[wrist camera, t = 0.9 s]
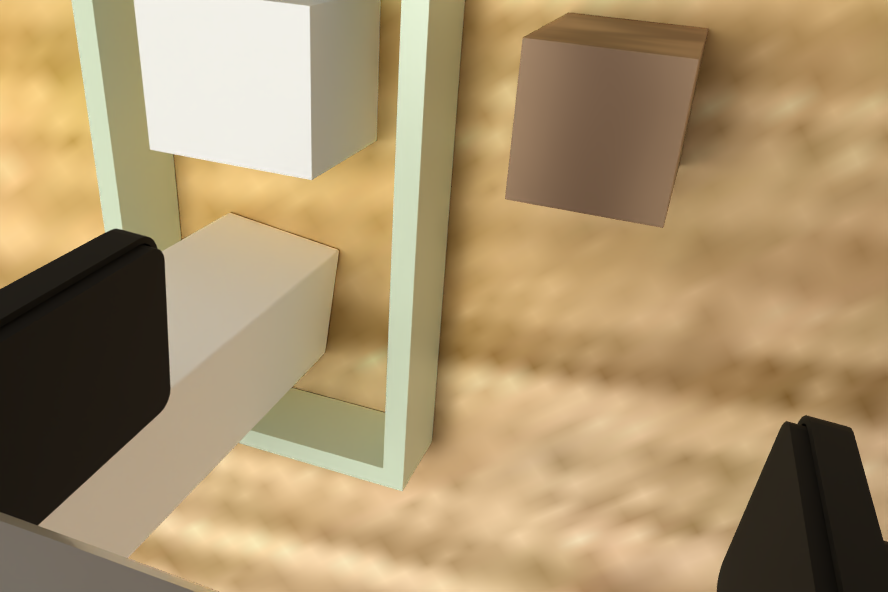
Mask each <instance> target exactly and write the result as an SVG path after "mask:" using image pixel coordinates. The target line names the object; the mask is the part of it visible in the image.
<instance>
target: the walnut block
mask: <svg viewBox="0 0 888 592" xmlns="http://www.w3.org/2000/svg"><path fill="white" fill-rule="evenodd" d="M707 33H708V28H699V27H690V26H681V25H673V24H664V23H655V22H646V21H637V20H629V19H620V18H611V17H602V16H593V15H585V14H576V13H567V14H565V15H563V16H561V17H560V18H558V19H556V20H554V21H552V22H550V23H549V24H547V25H545V26H543V27H541V28H539V29H538V30H536V31H534V32H532V33H530V34H529V35H527V36H525V37H523V41H522V50H521V59H520V68H519V77H518V86H517V95H516V105H515V114H514V123H513V132H512V141H511V150H510V159H509V168H508V177H507V186H506V196H505V199H507V200H513V201H518V202H524V203H529V204H535V205H540V206H546V207H551V208H557V209H562V210H568V211H573V212H579V213H584V214H590V215H595V216H601V217H606V218H612V219H618V220H623V221H629V222H634V223H640V224H645V225H651V226H656V227H662V228H663V227H664V223H665V219H666V215H667V211H668V207H669V203H670V199H671V195H672V191H673V188H674V184H675V180H676V176H677V172H678V168H679V164H680V159H681V154H682V150H683V145H684V140H685V136H686V131H687V126H688V122H689V117H690V112H691V108H692V103H693V98H694V94H695V89H696V84H697V80H698V75H699V70H700V66H701V61H702V56H703V52H704V47H705V42H706V38H707Z"/></svg>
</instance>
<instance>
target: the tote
mask: <svg viewBox="0 0 888 592" xmlns="http://www.w3.org/2000/svg"><path fill="white" fill-rule="evenodd" d="M72 7H73V14H74V21H75V28H76V34H77V41H78V48H79V55H80V62H81V69H82V76H83V83H84V90H85V97H86V104H87V110H88V117H89V124H90V131H91V138H92V145H93V152H94V159H95V166H96V173H97V180H98V186H99V193H100V200H101V207H102V214H103V221H104V228H105V233H106V232H108V231H110V230H112V229H122V230H125V231H129V232H133V233H136V234H140V235H144V236H147V237H150V238H152V239H153V240H154V241H155V243H156V245H157V249H159V250H161V251H163V250H165V249H167V248H169V247H170V246H172V245H174V244H176V243H177V242H179V241H181V230H180V219H179V209H178V199H177V188H176V178H175V167H174V157H173V154H171V153H165V152H160V151H155V150H150V144H149V135H148V126H147V117H146V108H145V99H144V90H143V80H142V71H141V62H140V53H139V44H138V35H137V26H136V16H135V7H134V0H72ZM464 7H465V0H402V2H401V27H400V53H399V78H398V104H397V129H396V155H395V180H394V206H393V231H392V257H391V282H390V308H389V333H388V358H387V384H386V409H385V412H381V411H377V410H373V409H370V408H366V407H362V406H358V405H355V404H351V403H347V402H343V401H340V400H336V399H332V398H329V397H325V396H321V395H317V394H314V393H310V392H306V391H302V390H299V389H295V388H291V389H290V390H289V391H288V392H287V393H286V394H285V395H284V396H283V397H282V398H281V399H280V400H279V401H278V402H277V403H276V404H275V405H274V406H273V407H272V408H271V409H270V410H269V412H268V413H267V414H266V415H265V416H264V417H263V418H262V419H261V420H260V421H259V422H258V423H257V424H256V425H255V426H254V427H253V428H252V429H251V430H250V431H249V432H248V433H247V434H246V435H245V437H244V438H243V439H242V440H241V441H240V442H239V443H241V444H244V445H247V446H251V447H254V448H257V449H261V450H264V451H268V452H271V453H274V454H278V455H281V456H285V457H288V458H291V459H295V460H298V461H302V462H305V463H308V464H312V465H315V466H319V467H322V468H325V469H329V470H332V471H335V472H339V473H342V474H346V475H349V476H352V477H356V478H359V479H363V480H366V481H369V482H373V483H376V484H380V485H383V486H386V487H390V488H393V489H396V490H400V491H403V490H404V488H405V486H406V484H407V483H408V481H409V479H410V478H411V476H412V474H413V473H414V471H415V469H416V468H417V466H418V464H419V463H420V461H421V459H422V458H423V456H424V454H425V453H426V451H427V449H428V448H429V446H430V444H431V442H432V436H433V422H434V409H435V395H436V382H437V369H438V355H439V342H440V328H441V315H442V302H443V288H444V275H445V261H446V248H447V235H448V221H449V208H450V194H451V181H452V168H453V154H454V141H455V127H456V114H457V100H458V87H459V74H460V60H461V47H462V33H463V20H464Z"/></svg>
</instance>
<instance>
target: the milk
mask: <svg viewBox="0 0 888 592" xmlns="http://www.w3.org/2000/svg"><path fill="white" fill-rule="evenodd" d="M162 253H163V255H164V259H165V278H166V300H167V322H168V343H169V365H170V387H171V389H170V396H169V400H168V402H167V404H166V406H165V408H164V409H163V410H162V412H161V413H160V414H159V415H158V416H156V417H155V418H154V419H153V420H152V421H151V422H150V423H149V424H148V425H147V426H146V427H144V428H143V429H142V430H141V431H140V432H139V433H138V434H137V435H136V436H135V437H134V438H133V439H131V440H130V441H129V442H128V443H127V444H126V445H125V446H124V447H123V448H122V449H121V450H119V451H118V452H117V453H116V454H115V455H114V456H113V457H112V458H111V459H110V460H109V461H108V462H106V463H105V464H104V465H103V466H102V467H101V468H100V469H99V470H98V471H97V472H96V473H94V474H93V475H92V476H91V477H90V478H89V479H88V480H87V481H86V482H85V483H84V484H83V485H81V486H80V487H79V488H78V489H77V490H76V491H75V492H74V493H73V494H72V495H71V496H69V497H68V498H67V499H66V500H65V501H64V502H63V503H62V504H61V505H60V506H59V507H58V508H56V509H55V510H54V511H53V512H52V513H51V514H50V515H49V516H48V517H47V518H46V519H44V520H43V521H42V522H41V523H40V524H39V525H38V526H40V527H43V528H46V529H48V530H51V531H54V532H57V533H59V534H62V535H65V536H68V537H71V538H73V539H76V540H79V541H82V542H84V543H87V544H90V545H93V546H96V547H98V548H101V549H104V550H107V551H109V552H112V553H115V554H118V555H120V556H123V557H126V558H128V557H129V556H130V555H131V554H132V553H133V552H134V551H135V550H136V549H137V548H138V547H139V546H140V545H141V544H142V543H143V542H144V541H145V540H146V539H147V537H148V536H149V535H150V534H151V533H152V532H153V531H154V530H155V529H156V528H157V527H158V526H159V525H160V524H161V523H162V522H163V521H164V520H165V519H166V518H167V517H168V516H169V515H170V514H171V513H172V511H173V510H174V509H175V508H176V507H177V506H178V505H179V504H180V503H181V502H182V501H183V500H184V499H185V498H186V497H187V496H188V495H189V494H190V493H191V492H192V491H193V490H194V489H195V488H196V486H197V485H198V484H199V483H200V482H201V481H202V480H203V479H204V478H205V477H206V476H207V475H208V474H209V473H210V472H211V471H212V470H213V469H214V468H215V467H216V466H217V465H218V464H219V463H220V461H221V460H222V459H223V458H224V457H225V456H226V455H227V454H228V453H229V452H230V451H231V450H232V449H233V448H234V447H235V446H236V445H237V444H238V443H239V442H240V441H241V440H242V439H243V438H244V437H245V435H246V434H247V433H248V432H249V431H250V430H251V429H252V428H253V427H254V426H255V425H256V424H257V423H258V422H259V421H260V420H261V419H262V418H263V417H264V416H265V415H266V414H267V413H268V412H269V410H270V409H271V408H272V407H273V406H274V405H275V404H276V403H277V402H278V401H279V400H280V399H281V398H282V397H283V396H284V395H285V394H286V393H287V392H288V391H289V390H290V389H291V388H292V387H293V386H294V384H295V383H296V382H297V381H298V380H299V379H300V378H301V377H302V376H303V375H304V374H305V373H306V372H307V371H308V370H309V369H310V368H311V367H312V366H313V365H314V364H315V363H316V362H317V361H318V359H319V358H320V357H321V356H322V355H323V354H324V353H325V350H326V343H327V335H328V328H329V321H330V314H331V306H332V299H333V292H334V284H335V277H336V270H337V263H338V255H339V250H338V249H335V248H332V247H329V246H326V245H323V244H321V243H318V242H315V241H312V240H309V239H306V238H303V237H300V236H297V235H294V234H291V233H288V232H285V231H283V230H280V229H277V228H274V227H271V226H268V225H265V224H262V223H259V222H256V221H253V220H250V219H247V218H245V217H242V216H239V215H236V214H233V213H228V214H226V215H224V216H222V217H221V218H219V219H217V220H216V221H214V222H212V223H210V224H209V225H207V226H205V227H203V228H202V229H200V230H198V231H196V232H195V233H193V234H191V235H189V236H188V237H186V238H184V239H183V240H181V241H179V242H177V243H176V244H174V245H172V246H170V247H169V248H167V249H165V250H163V251H162Z"/></svg>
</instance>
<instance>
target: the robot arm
mask: <svg viewBox="0 0 888 592" xmlns="http://www.w3.org/2000/svg"><path fill="white" fill-rule="evenodd" d="M170 389H171V387H170V365H169V343H168V322H167V300H166V278H165V259H164V255H163V253H162V251H161V250H159V249H157V245H156V243H155V241H154V240H153V239H152V238H150V237H147V236H144V235H140V234H136V233H133V232H129V231H125V230H122V229H112V230H110V231H108V232H106V233H104V234H102V235H100V236H98V237H96V238H95V239H93V240H91V241H89V242H87V243H85V244H83V245H82V246H80V247H78V248H76V249H74V250H72V251H70V252H69V253H67V254H65V255H63V256H61V257H59V258H57V259H56V260H54V261H52V262H50V263H48V264H46V265H44V266H43V267H41V268H39V269H37V270H35V271H33V272H31V273H30V274H28V275H26V276H24V277H22V278H20V279H18V280H17V281H15V282H13V283H11V284H9V285H7V286H5V287H3V288H2V289H0V592H219V591H216V590H213V589H211V588H208V587H205V586H202V585H200V584H197V583H194V582H191V581H189V580H186V579H183V578H181V577H178V576H175V575H172V574H170V573H167V572H164V571H161V570H159V569H156V568H153V567H150V566H148V565H145V564H142V563H140V562H137V561H134V560H131V559H129V558H126V557H123V556H120V555H118V554H115V553H112V552H109V551H107V550H104V549H101V548H98V547H96V546H93V545H90V544H87V543H84V542H82V541H79V540H76V539H73V538H71V537H68V536H65V535H62V534H59V533H57V532H54V531H51V530H48V529H46V528H43V527H40V526H38V525H39V524H40V523H41V522H42V521H43V520H44V519H46V518H47V517H48V516H49V515H50V514H51V513H52V512H53V511H54V510H55V509H56V508H58V507H59V506H60V505H61V504H62V503H63V502H64V501H65V500H66V499H67V498H68V497H69V496H71V495H72V494H73V493H74V492H75V491H76V490H77V489H78V488H79V487H80V486H81V485H83V484H84V483H85V482H86V481H87V480H88V479H89V478H90V477H91V476H92V475H93V474H94V473H96V472H97V471H98V470H99V469H100V468H101V467H102V466H103V465H104V464H105V463H106V462H108V461H109V460H110V459H111V458H112V457H113V456H114V455H115V454H116V453H117V452H118V451H119V450H121V449H122V448H123V447H124V446H125V445H126V444H127V443H128V442H129V441H130V440H131V439H133V438H134V437H135V436H136V435H137V434H138V433H139V432H140V431H141V430H142V429H143V428H144V427H146V426H147V425H148V424H149V423H150V422H151V421H152V420H153V419H154V418H155V417H156V416H158V415H159V414H160V413H161V412H162V410H163V409H164V408H165V406H166V404H167V402H168V400H169V396H170ZM717 592H888V542H886V541H883V537H882V534H881V530H880V527H879V523H878V519H877V516H876V512H875V508H874V505H873V501H872V498H871V494H870V490H869V487H868V483H867V479H866V476H865V472H864V469H863V465H862V461H861V458H860V454H859V451H858V447H857V443H856V440H855V436H854V433H853V431H852V429H851V428H850V427H847V426H843V425H840V424H836V423H832V422H829V421H825V420H821V419H818V418H814V417H810V416H807V415H805V416H803V417H802V418H801V419H800V421H799V422H798V424H795V423H791V422H787V421H786V422H784V424H783V425H782V427H781V428H780V430H779V433H778V435H777V437H776V440H775V442H774V444H773V447H772V449H771V451H770V454H769V456H768V458H767V461H766V463H765V465H764V468H763V470H762V472H761V475H760V477H759V479H758V482H757V484H756V486H755V488H754V491H753V493H752V495H751V498H750V500H749V502H748V505H747V507H746V509H745V512H744V514H743V516H742V519H741V521H740V523H739V526H738V528H737V530H736V533H735V535H734V537H733V540H732V542H731V544H730V547H729V549H728V551H727V554H726V556H725V558H724V561H723V563H722V566H721V569H720V573H719V578H718V584H717Z"/></svg>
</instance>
